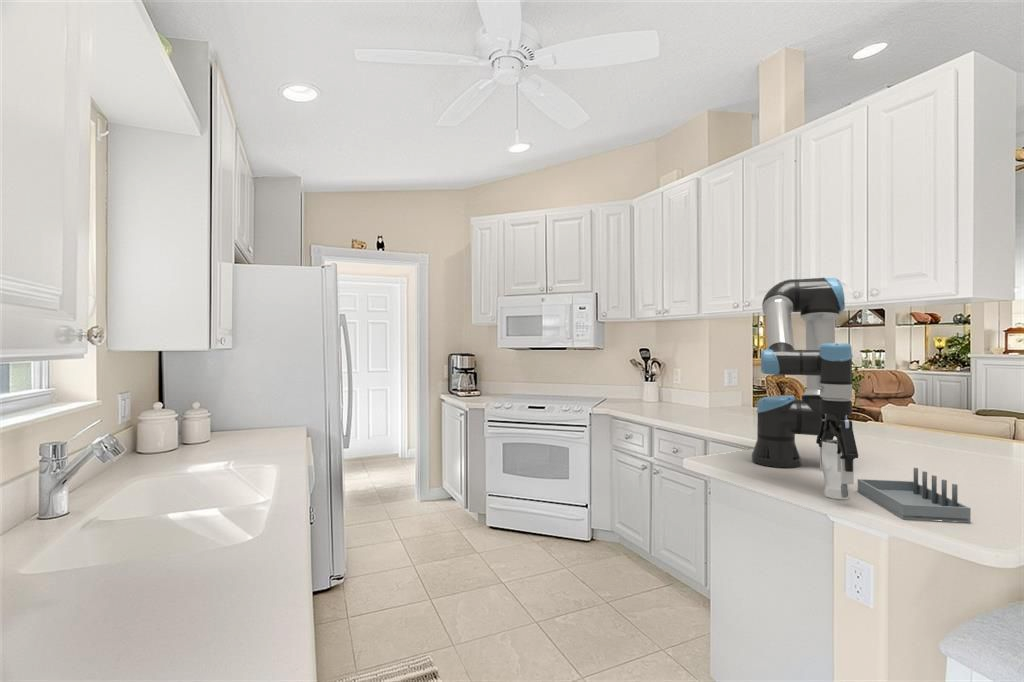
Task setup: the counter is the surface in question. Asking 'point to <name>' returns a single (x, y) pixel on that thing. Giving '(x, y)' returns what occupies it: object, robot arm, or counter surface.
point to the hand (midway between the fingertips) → (835, 477)
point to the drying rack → (916, 499)
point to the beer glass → (832, 471)
